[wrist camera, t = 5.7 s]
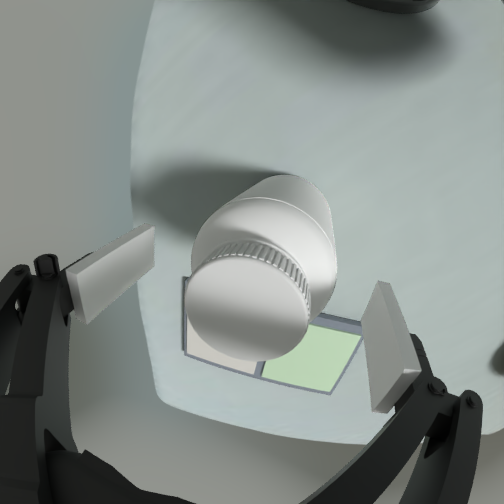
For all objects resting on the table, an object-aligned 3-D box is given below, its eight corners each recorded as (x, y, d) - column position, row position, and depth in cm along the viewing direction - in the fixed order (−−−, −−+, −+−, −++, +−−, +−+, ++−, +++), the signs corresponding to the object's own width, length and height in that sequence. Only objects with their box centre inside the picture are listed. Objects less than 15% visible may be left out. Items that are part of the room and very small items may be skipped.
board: (188, 277, 29) (183, 281, 28) (367, 323, 26) (369, 330, 25) (186, 351, 34) (183, 356, 33) (330, 390, 31) (330, 397, 30)
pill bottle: (344, 189, 22) (377, 267, 8) (313, 269, 25) (296, 400, 12) (256, 160, 23) (162, 194, 9) (234, 242, 26) (151, 345, 13)
